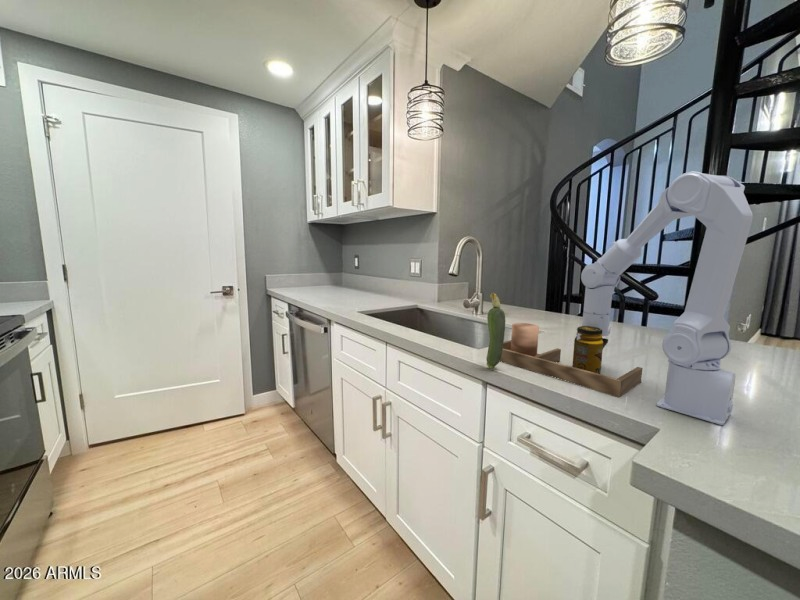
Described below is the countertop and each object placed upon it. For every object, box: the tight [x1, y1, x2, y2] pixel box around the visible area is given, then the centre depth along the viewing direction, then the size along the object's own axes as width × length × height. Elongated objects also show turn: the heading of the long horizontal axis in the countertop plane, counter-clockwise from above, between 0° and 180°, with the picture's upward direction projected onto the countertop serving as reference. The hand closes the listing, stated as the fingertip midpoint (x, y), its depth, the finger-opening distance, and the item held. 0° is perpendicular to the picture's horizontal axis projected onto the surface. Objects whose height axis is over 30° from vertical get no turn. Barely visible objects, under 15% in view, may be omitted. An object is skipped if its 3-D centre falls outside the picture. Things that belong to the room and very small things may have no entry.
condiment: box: [571, 325, 604, 374], centre depth 79 cm, size 7×8×12 cm
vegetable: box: [486, 292, 506, 370], centre depth 83 cm, size 4×4×20 cm
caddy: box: [499, 322, 643, 398], centre depth 84 cm, size 33×14×10 cm, turn 38°
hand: (591, 365), depth 83 cm, fingers closed
